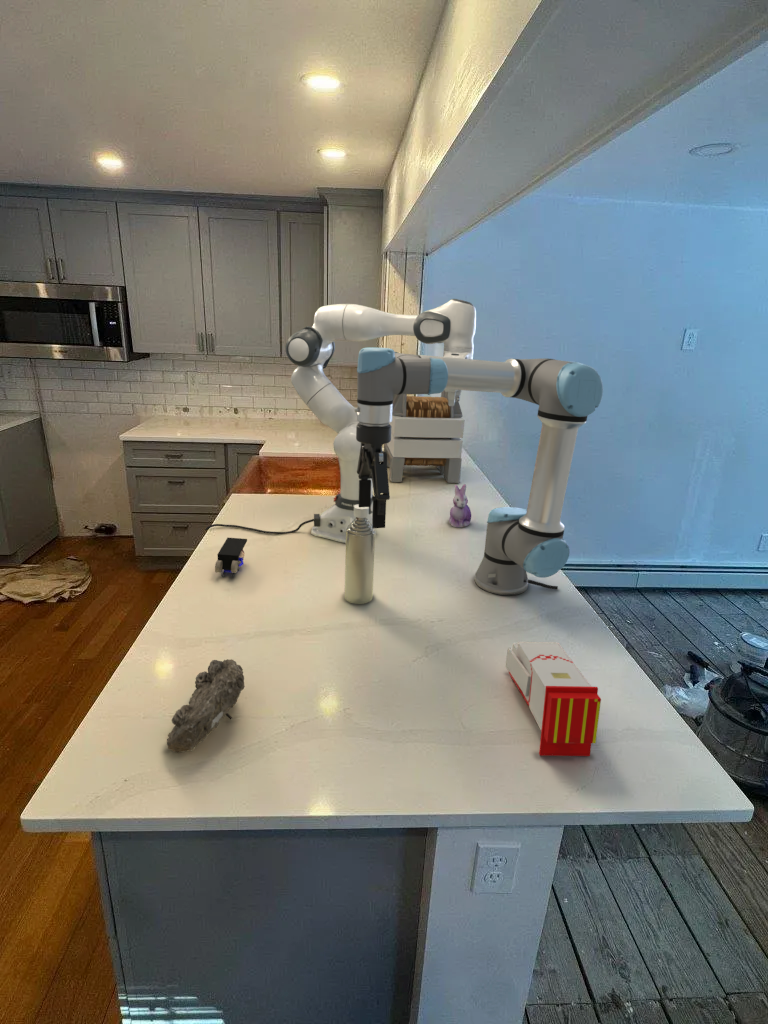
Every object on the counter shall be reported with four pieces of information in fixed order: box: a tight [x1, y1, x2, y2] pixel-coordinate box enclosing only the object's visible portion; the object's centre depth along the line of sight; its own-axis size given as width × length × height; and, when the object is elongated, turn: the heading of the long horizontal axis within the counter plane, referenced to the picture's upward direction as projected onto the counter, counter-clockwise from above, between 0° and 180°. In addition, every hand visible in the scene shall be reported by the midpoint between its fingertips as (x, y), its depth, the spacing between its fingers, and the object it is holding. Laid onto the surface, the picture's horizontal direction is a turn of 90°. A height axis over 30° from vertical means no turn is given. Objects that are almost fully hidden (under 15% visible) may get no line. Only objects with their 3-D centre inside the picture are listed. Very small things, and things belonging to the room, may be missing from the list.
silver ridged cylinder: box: [344, 517, 376, 605], centre depth 151 cm, size 8×8×26 cm
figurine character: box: [214, 537, 248, 578], centre depth 166 cm, size 7×8×15 cm
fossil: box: [166, 658, 245, 754], centre depth 106 cm, size 22×10×15 cm
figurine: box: [448, 483, 472, 528], centre depth 209 cm, size 9×10×15 cm
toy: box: [505, 641, 602, 757], centre depth 113 cm, size 12×13×30 cm
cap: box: [354, 504, 369, 518], centre depth 147 cm, size 4×4×2 cm
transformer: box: [383, 390, 465, 484], centre depth 268 cm, size 34×33×41 cm
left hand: (454, 403), depth 174 cm, fingers open, 8 cm apart
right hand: (371, 516), depth 128 cm, fingers open, 13 cm apart
